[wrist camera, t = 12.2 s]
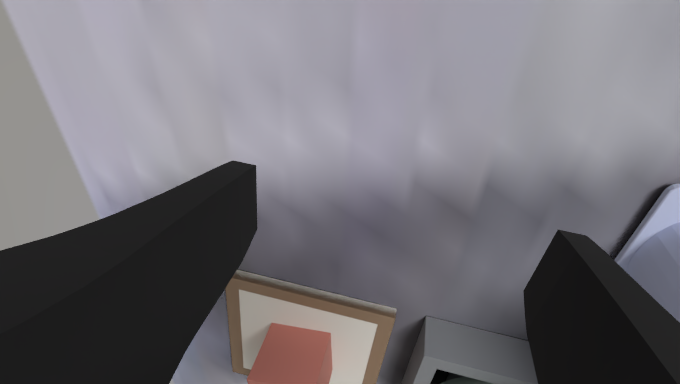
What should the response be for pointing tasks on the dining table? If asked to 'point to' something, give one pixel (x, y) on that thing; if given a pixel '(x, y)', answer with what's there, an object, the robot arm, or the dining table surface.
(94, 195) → the dining table surface
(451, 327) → the grey square tray
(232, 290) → the board
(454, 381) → the dome
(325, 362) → the small die
